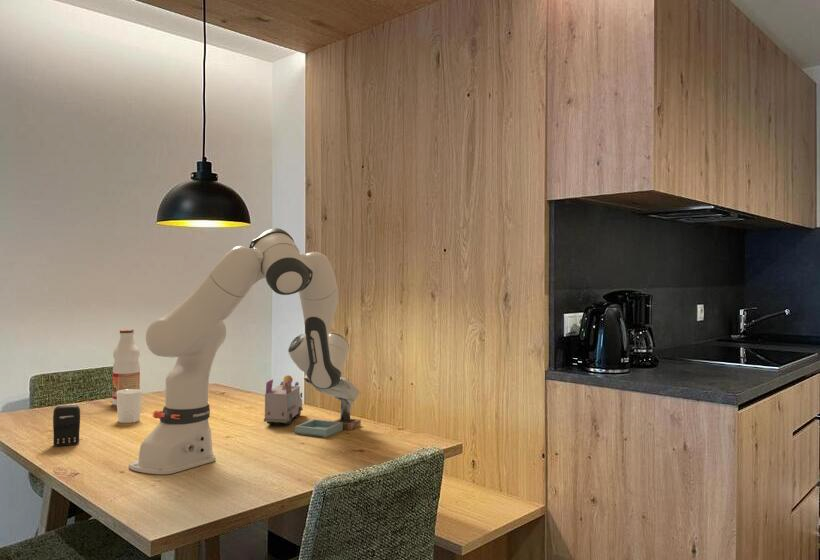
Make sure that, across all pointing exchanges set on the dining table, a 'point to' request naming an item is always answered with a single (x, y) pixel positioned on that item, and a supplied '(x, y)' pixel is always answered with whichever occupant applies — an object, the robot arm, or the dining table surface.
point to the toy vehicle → (282, 402)
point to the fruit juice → (125, 364)
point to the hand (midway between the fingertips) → (347, 401)
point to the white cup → (129, 405)
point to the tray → (319, 428)
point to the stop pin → (345, 410)
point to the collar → (350, 423)
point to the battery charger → (66, 425)
